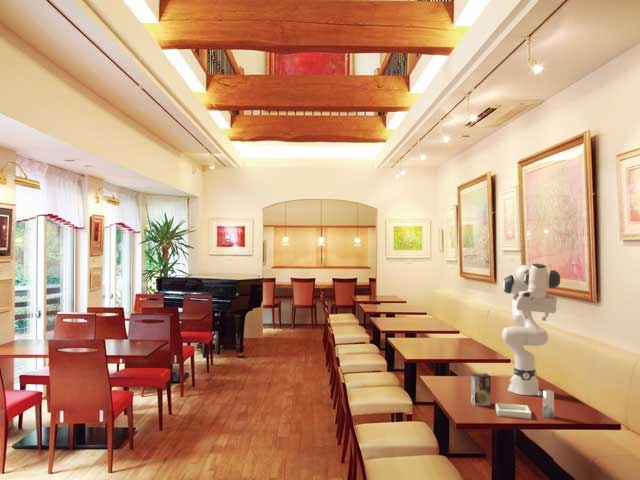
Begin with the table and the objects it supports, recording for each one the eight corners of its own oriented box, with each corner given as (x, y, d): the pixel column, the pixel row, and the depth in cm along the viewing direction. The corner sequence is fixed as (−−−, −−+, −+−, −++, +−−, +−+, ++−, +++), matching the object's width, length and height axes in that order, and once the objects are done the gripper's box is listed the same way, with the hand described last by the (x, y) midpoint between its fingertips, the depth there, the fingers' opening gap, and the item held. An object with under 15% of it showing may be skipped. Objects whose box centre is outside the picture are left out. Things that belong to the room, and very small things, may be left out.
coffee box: (486, 402, 281) (486, 373, 281) (491, 405, 274) (491, 376, 275) (470, 402, 280) (470, 373, 281) (474, 405, 274) (474, 376, 274)
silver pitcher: (535, 414, 261) (535, 389, 261) (552, 415, 259) (552, 390, 259) (537, 417, 256) (537, 391, 256) (554, 419, 254) (554, 393, 254)
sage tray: (495, 408, 270) (495, 402, 270) (527, 411, 266) (527, 405, 266) (497, 416, 257) (497, 410, 257) (531, 419, 253) (531, 413, 254)
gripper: (555, 295, 272) (553, 320, 272) (515, 291, 275) (513, 317, 275) (559, 296, 266) (557, 322, 266) (518, 293, 269) (516, 319, 269)
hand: (534, 319), depth 271 cm, fingers open, 8 cm apart
